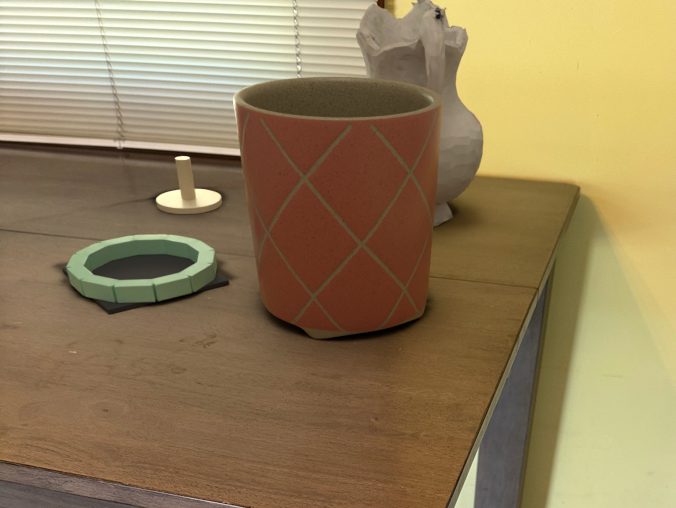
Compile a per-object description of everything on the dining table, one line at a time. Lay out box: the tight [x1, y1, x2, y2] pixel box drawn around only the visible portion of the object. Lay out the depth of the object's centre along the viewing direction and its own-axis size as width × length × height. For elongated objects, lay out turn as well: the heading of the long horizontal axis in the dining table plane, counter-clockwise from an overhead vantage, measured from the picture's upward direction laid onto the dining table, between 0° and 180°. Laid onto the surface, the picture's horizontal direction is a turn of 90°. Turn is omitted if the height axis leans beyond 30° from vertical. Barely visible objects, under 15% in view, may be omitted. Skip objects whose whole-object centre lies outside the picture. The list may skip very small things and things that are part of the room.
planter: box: [232, 76, 443, 340], centre depth 75 cm, size 19×19×20 cm
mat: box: [62, 254, 230, 315], centre depth 86 cm, size 14×14×1 cm
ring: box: [65, 233, 218, 303], centre depth 85 cm, size 16×16×2 cm
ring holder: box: [155, 155, 223, 215], centre depth 105 cm, size 9×9×6 cm
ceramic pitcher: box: [355, 0, 484, 227], centre depth 97 cm, size 22×20×25 cm
